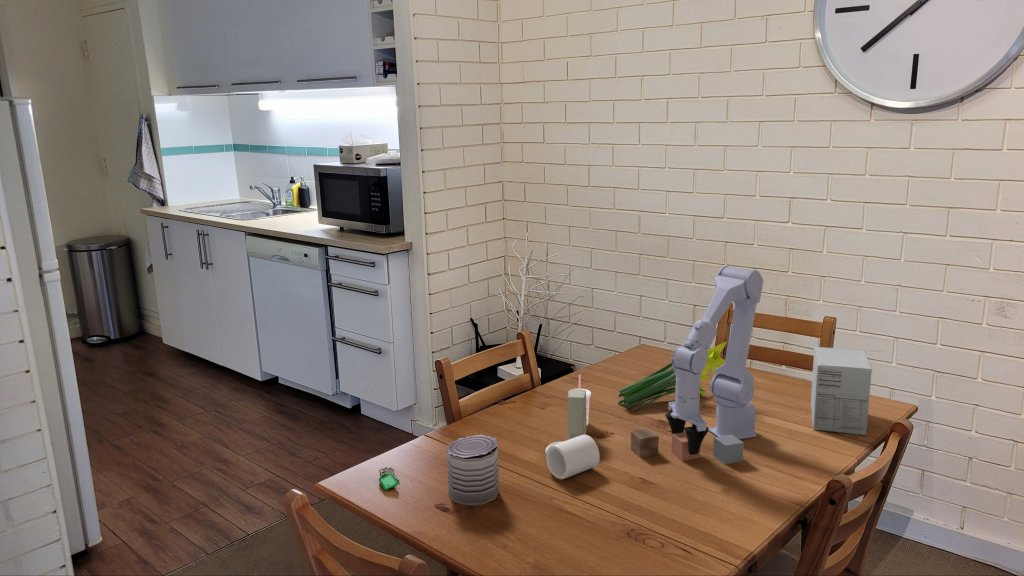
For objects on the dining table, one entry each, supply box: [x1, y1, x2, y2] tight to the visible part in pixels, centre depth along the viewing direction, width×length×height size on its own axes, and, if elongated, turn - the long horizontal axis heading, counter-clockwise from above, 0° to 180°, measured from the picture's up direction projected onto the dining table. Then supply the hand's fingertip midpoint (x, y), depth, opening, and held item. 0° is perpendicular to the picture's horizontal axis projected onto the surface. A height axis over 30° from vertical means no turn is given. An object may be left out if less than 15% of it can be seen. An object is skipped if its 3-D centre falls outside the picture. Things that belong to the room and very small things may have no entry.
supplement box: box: [810, 346, 873, 436], centre depth 202 cm, size 17×13×18 cm
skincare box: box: [566, 388, 588, 440], centre depth 196 cm, size 6×4×12 cm
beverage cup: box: [567, 374, 592, 426], centre depth 204 cm, size 6×6×14 cm
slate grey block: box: [712, 434, 745, 465], centre depth 182 cm, size 5×5×5 cm
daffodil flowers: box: [617, 341, 728, 412], centre depth 219 cm, size 17×15×35 cm
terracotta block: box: [671, 431, 701, 462], centre depth 185 cm, size 5×5×5 cm
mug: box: [544, 434, 600, 480], centre depth 179 cm, size 12×10×8 cm
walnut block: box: [630, 427, 660, 458], centre depth 187 cm, size 5×5×5 cm
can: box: [446, 434, 500, 506], centre depth 168 cm, size 11×11×12 cm
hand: (685, 447), depth 185 cm, fingers open, 7 cm apart
